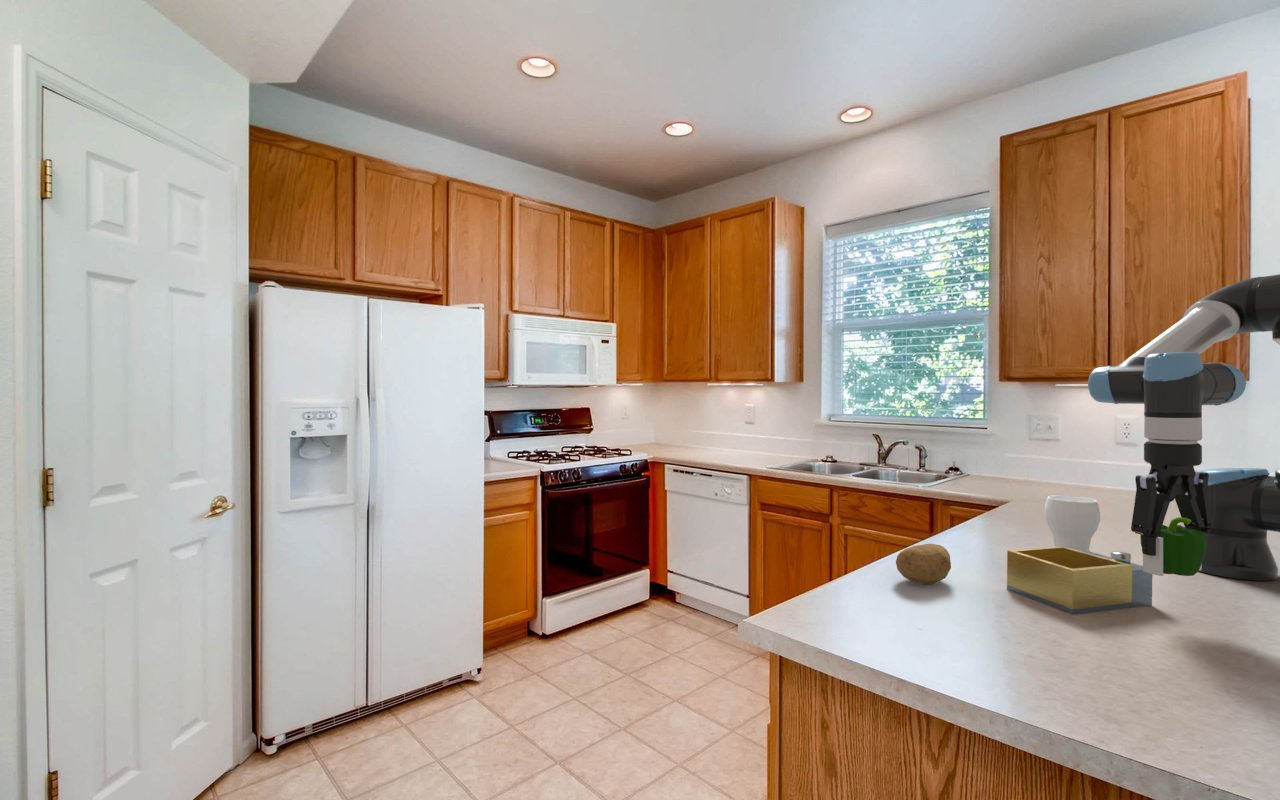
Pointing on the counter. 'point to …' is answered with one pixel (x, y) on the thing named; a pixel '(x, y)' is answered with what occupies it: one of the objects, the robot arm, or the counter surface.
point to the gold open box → (1078, 579)
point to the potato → (924, 563)
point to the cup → (1072, 520)
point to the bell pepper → (1182, 548)
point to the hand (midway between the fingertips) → (1172, 570)
